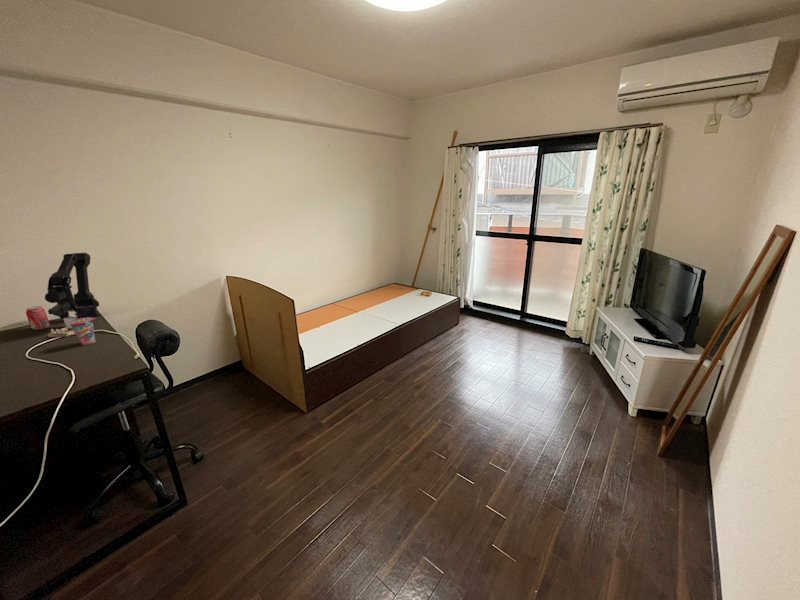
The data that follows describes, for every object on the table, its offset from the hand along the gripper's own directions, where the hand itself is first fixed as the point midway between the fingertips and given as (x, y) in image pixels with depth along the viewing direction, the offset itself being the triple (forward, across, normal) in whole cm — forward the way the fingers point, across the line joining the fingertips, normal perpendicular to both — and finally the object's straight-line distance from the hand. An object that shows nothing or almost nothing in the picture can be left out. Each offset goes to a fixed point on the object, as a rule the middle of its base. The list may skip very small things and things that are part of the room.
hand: (75, 324), depth 181 cm
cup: (+1, +29, -24) cm, 38 cm away
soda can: (+1, -18, -1) cm, 18 cm away
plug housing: (+1, 0, 0) cm, 1 cm away
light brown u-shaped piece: (+1, +5, -10) cm, 11 cm away
